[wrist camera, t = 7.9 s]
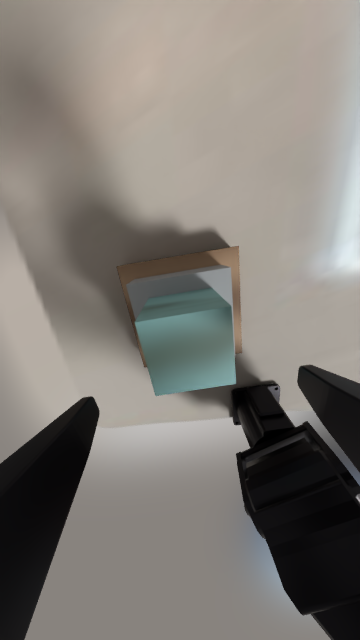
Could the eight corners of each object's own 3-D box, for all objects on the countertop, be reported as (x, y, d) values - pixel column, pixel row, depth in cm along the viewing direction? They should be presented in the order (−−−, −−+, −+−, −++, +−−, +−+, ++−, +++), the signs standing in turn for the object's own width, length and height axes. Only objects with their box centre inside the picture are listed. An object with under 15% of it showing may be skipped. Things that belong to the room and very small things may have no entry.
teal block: (217, 343, 15) (236, 383, 10) (161, 352, 15) (155, 395, 11) (211, 287, 13) (231, 306, 9) (148, 298, 14) (134, 322, 9)
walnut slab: (233, 340, 22) (241, 352, 19) (148, 353, 22) (144, 367, 19) (228, 247, 18) (238, 246, 15) (125, 264, 18) (116, 266, 15)
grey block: (226, 341, 19) (235, 357, 16) (153, 352, 19) (149, 370, 16) (220, 264, 16) (231, 267, 13) (134, 279, 16) (125, 284, 13)
